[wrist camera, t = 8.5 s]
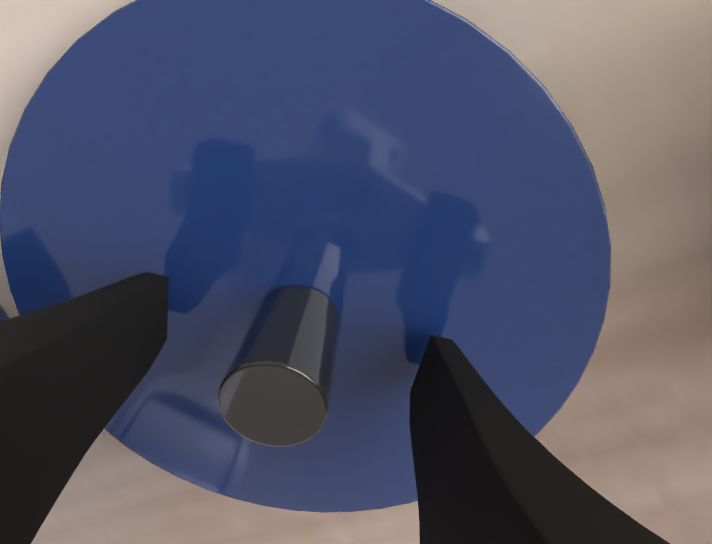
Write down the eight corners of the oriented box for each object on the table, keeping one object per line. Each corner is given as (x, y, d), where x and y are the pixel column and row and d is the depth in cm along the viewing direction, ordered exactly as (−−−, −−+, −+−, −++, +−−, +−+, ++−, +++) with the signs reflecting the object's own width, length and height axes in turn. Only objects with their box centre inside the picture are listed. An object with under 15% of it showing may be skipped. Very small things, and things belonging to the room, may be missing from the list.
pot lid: (722, 76, 10) (953, 87, 6) (474, 521, 17) (502, 661, 13) (-16, -116, 9) (-329, -252, 5) (55, 437, 17) (-50, 558, 13)
